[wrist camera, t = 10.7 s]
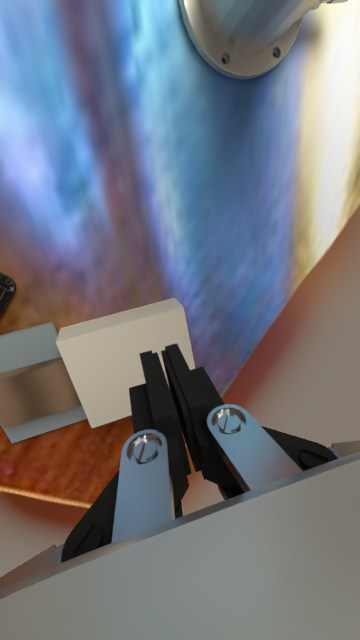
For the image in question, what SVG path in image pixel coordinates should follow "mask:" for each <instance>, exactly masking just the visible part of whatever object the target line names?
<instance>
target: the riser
mask: <svg viewBox="0 0 360 640" xmlns="http://www.w3.org/2000/svg"><path fill="white" fill-rule="evenodd" d="M176 343H177V344H178V346H179V348H180V350H181V352H182V354H183V356H184V359H185V361H186V363H187V365H188V367H189V369H190V370H192V369H195V364H194V358H193V353H192V348H191V343H190V338H189V333H188V328H187V322H186V317H185V312H184V307H183V306H182V305H181V304H180V303H179V302H178V300H177V299H176V298H171V299H167V300H163V301H160V302H156V303H152V304H148V305H145V306H141V307H137V308H134V309H130V310H126V311H122V312H119V313H115V314H111V315H107V316H104V317H100V318H96V319H93V320H89V321H85V322H81V323H78V324H74V325H70V326H67V327H63V328H61V329H60V331H59V334H58V337H57V340H56V344H57V347H58V349H59V351H60V354H61V356H62V359H63V361H64V363H65V366H66V368H67V371H68V373H69V375H70V378H71V380H72V383H73V385H74V387H75V390H76V392H77V395H78V397H79V399H80V402H81V404H82V406H83V409H84V411H85V414H86V416H87V418H88V421H89V423H90V426H91V428H95V427H98V426H101V425H104V424H107V423H110V422H112V421H115V420H118V419H121V418H124V417H127V416H130V415H132V412H131V404H130V395H129V388H131V387H134V386H137V385H141V384H144V383H146V382H145V377H144V373H143V368H142V364H141V359H140V354H139V353H143V352H147V351H150V350H152V353H155V352H157V353H158V356H159V359H160V362H161V365H162V368H163V371H164V374H165V377H166V380H167V376H166V371H165V367H164V363H163V358H162V354H161V351H163V350H165V346H168V345H172V344H176ZM167 383H168V380H167ZM168 386H169V384H168ZM169 389H170V388H169Z"/></svg>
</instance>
